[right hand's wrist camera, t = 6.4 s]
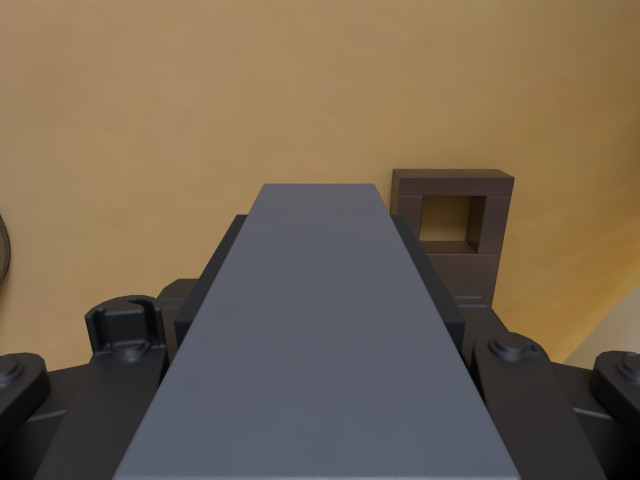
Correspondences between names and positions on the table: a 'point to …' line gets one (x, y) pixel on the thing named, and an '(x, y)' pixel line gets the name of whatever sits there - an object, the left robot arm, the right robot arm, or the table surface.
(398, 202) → the walnut plank
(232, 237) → the right robot arm
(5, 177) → the table surface
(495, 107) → the table surface
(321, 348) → the grey peg
